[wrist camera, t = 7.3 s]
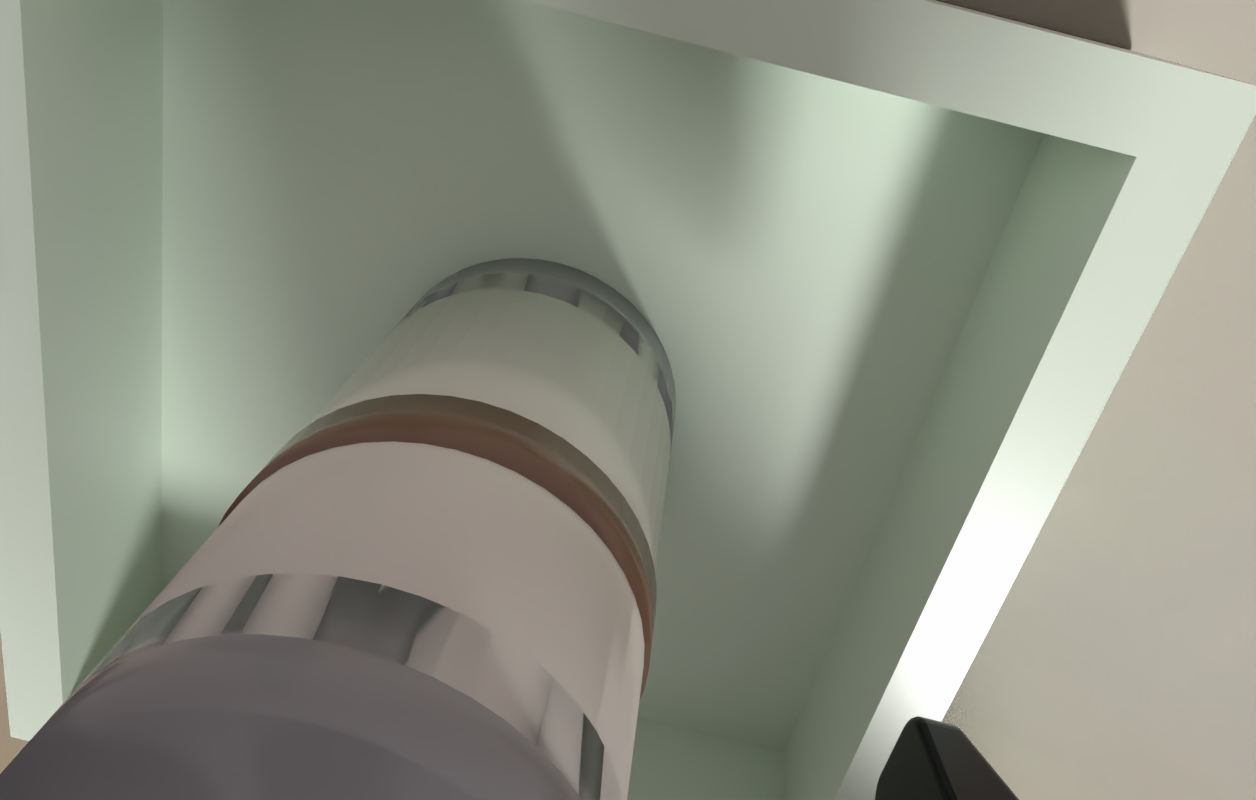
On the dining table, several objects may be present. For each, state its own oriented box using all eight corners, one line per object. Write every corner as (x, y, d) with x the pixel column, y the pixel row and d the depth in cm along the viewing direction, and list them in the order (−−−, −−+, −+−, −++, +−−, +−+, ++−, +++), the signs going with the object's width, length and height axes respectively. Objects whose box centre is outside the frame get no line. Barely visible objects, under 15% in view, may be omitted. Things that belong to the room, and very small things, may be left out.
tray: (813, 769, 16) (828, 938, 14) (134, 600, 16) (10, 736, 13) (1134, 50, 11) (1268, 88, 8) (124, -208, 11) (-87, -258, 8)
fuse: (641, 553, 14) (543, 1194, 7) (371, 484, 14) (-13, 1057, 7) (714, 298, 12) (684, 809, 5) (403, 220, 12) (-75, 621, 5)
